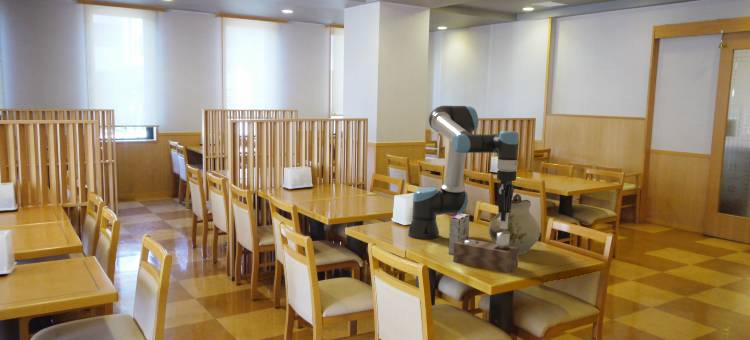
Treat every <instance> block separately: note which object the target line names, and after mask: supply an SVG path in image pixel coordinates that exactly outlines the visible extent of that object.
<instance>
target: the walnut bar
mask: <svg viewBox="0 0 750 340" xmlns="http://www.w3.org/2000/svg"><path fill="white" fill-rule="evenodd" d="M469 239H470V240H472V239H471V238H469ZM464 240H467V239H465V238H464V239H462V240H460V241H457V242H455V243H454V255H453V259H452V260H453V261H452V262H454V263H458V264H463V265H469V266H474V267H479V268H484V269H488V270H494V271H498V272H504V273H511V272H512V271H513V270H516V269H517V268H518V266H519V255H518V253H519V248H517V247H511V246H509V250H507V251H505V250H499V249H496V244H495V243H494V242H488V241H482V240H477V239H475V240H476V241H477V244H475V245H471V244H466V243H464Z"/></svg>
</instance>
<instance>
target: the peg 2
mask: <svg viewBox="0 0 750 340" xmlns="http://www.w3.org/2000/svg"><path fill="white" fill-rule="evenodd" d="M509 237H510V234H509V233H506V232H498V233H497V241H496V249H499V250H505V251H507V250H509Z"/></svg>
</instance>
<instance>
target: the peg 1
mask: <svg viewBox="0 0 750 340" xmlns="http://www.w3.org/2000/svg"><path fill="white" fill-rule="evenodd" d="M470 239H471V238H469V239H467V240H464V243H466V244H471V245H475V244H477V241H478V240H477V239H471V240H470ZM476 240H477V241H476Z"/></svg>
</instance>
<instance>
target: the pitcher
mask: <svg viewBox="0 0 750 340" xmlns="http://www.w3.org/2000/svg"><path fill="white" fill-rule="evenodd" d="M531 205H532V202H531V201H530V200H529V199H523V200H522V196H521V195H520V194H518V193H516V194H515V195H514V194H513V198H512V205H511V210H509V211H511V213H509V212H508V229H500V215H501V213H500V212H497V214H496V215H495V216H494V217H493V218H492V219H491V220H490V223H489V225H488V234H489V237H490V239H491V240H492V243H494V244H496V241H497V233H498V232H506V233H509V234H510V237H509V246H511V247H517V248H519V253H518V256H520V255H526V254H527V253H528V251H529V250H530V249H531V248H532V247H533V246H534V245H535V244H536V243H537V242H538V240H539V238H540V235H541V227H540V225H539V222H538V221H537V220H536V218H535V217H534V216H533V215H532V213H531V211H530V208H531Z"/></svg>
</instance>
